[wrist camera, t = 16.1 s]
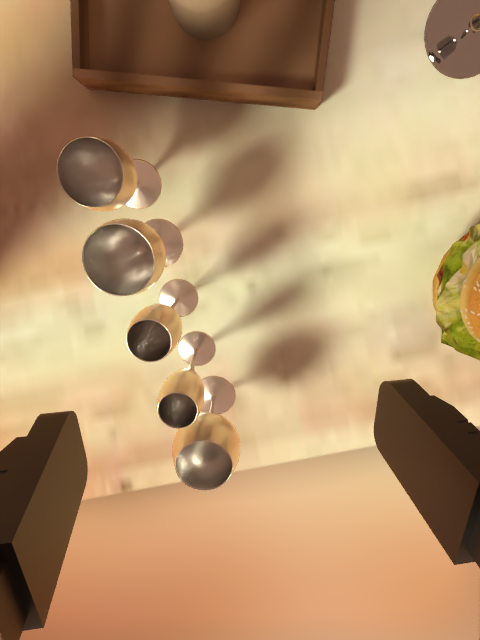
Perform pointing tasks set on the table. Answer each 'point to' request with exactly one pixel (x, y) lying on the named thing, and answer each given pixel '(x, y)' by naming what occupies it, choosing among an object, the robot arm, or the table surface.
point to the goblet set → (158, 319)
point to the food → (460, 295)
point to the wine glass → (454, 37)
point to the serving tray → (205, 51)
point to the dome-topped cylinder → (205, 16)
